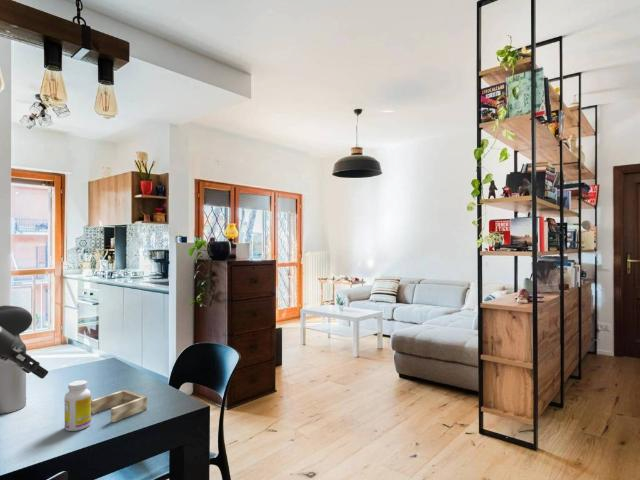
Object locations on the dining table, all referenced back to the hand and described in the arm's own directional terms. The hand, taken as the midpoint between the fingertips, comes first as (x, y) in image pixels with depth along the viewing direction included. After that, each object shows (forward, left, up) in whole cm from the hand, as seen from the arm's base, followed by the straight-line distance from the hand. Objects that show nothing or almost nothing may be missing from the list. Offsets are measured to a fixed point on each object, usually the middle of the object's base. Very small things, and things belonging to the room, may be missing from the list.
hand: (38, 372), depth 110 cm
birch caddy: (+21, +8, -19) cm, 29 cm away
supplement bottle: (+10, +4, -19) cm, 22 cm away
